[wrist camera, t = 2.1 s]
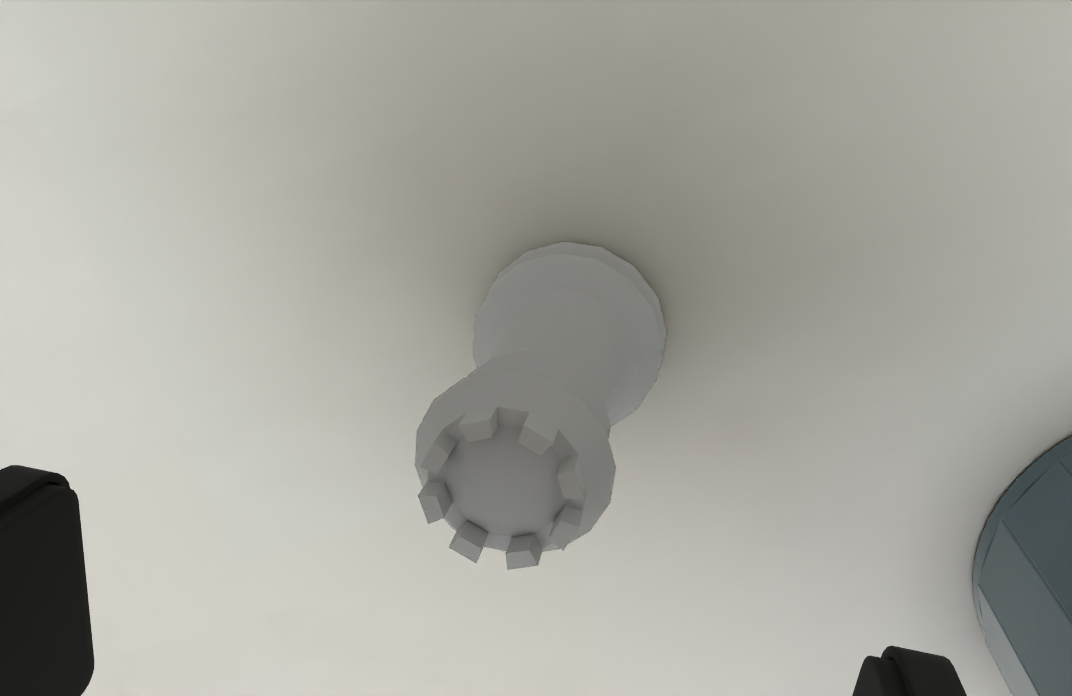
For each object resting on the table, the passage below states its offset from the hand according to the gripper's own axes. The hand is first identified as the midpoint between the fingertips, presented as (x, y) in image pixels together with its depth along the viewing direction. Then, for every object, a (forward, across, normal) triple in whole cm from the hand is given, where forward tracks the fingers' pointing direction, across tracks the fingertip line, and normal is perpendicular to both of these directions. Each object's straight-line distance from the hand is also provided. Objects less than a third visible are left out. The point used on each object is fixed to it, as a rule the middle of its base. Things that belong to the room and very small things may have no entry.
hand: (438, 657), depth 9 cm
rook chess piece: (+11, 0, -1) cm, 11 cm away
